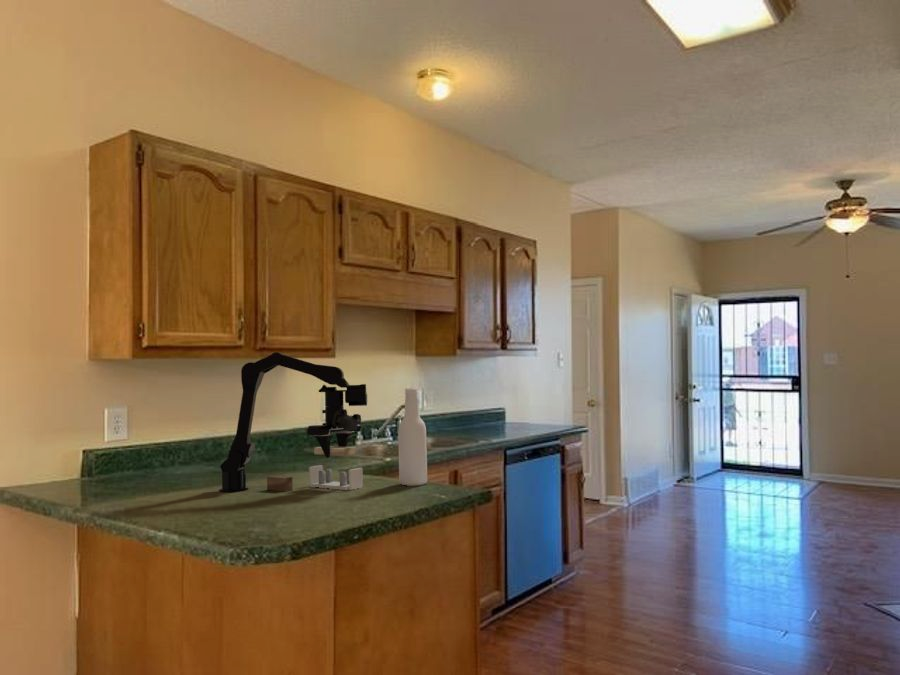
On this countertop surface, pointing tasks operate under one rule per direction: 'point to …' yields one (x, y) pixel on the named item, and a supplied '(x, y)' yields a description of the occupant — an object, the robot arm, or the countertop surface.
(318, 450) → the shelf board
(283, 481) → the block
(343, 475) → the peg frame
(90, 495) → the countertop surface
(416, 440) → the alcohol
